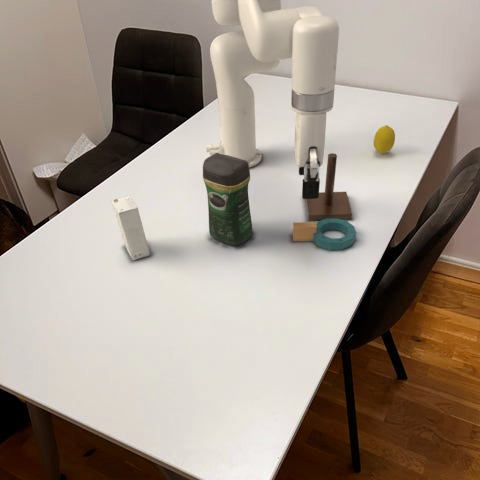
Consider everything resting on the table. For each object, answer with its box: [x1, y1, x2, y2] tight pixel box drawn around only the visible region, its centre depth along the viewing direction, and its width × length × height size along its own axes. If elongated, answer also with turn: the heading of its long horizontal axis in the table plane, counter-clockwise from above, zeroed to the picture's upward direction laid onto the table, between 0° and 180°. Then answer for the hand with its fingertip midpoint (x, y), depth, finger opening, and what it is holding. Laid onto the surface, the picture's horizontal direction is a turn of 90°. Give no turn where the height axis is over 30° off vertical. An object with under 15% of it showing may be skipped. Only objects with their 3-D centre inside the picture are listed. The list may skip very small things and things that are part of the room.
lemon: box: [373, 124, 396, 155], centre depth 129 cm, size 6×6×8 cm
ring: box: [292, 219, 357, 251], centre depth 104 cm, size 14×9×4 cm
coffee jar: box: [202, 153, 254, 247], centre depth 101 cm, size 10×8×19 cm
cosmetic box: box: [111, 195, 151, 261], centre depth 101 cm, size 6×4×12 cm
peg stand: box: [304, 152, 353, 222], centre depth 109 cm, size 10×10×14 cm
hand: (308, 185), depth 96 cm, fingers open, 9 cm apart
